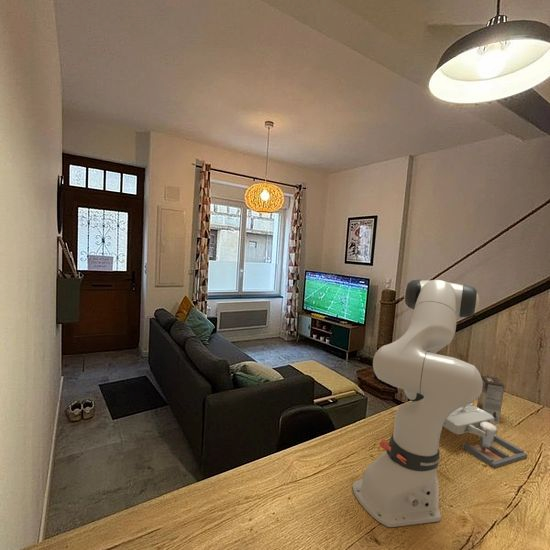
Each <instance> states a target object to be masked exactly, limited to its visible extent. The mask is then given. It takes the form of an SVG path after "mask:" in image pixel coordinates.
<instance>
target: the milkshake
mask: <svg viewBox="0 0 550 550" xmlns="http://www.w3.org/2000/svg"><path fill="white" fill-rule="evenodd" d="M496 424H497V425H496V426H495V424H494V425H493V424H491V423H488V422H481V423H480V430H481V429H482V430H484V431H486V432H487V436H486V437H481V436H479V440H480V441H479V440H478V444H479V448H480V449H481V450H482V451H484V452H491V448H492V445H493V444H494V441H493V440H494V436H495V435H496V434H495V433H496V430H498V429H497V428H498V427H499V425H500V422H499V423H496Z"/></svg>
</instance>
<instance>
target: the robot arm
mask: <svg viewBox="0 0 550 550" xmlns="http://www.w3.org/2000/svg"><path fill="white" fill-rule="evenodd" d="M403 300H404V304H405V305H406V307H408V308H409V309H412V310H413V312H412V315H411V316H412V317H411V320H410V323H409V326H408V328H407V330H406V332H404V334H403V335H401V337H399V338H398V339H397V340H395V341H393V342H391V343H388V344H385V345H383V346H381V347H379V348H378V350H377V351H376V352H375V354H374V356H373V359H372V368H373V372H374V374H375V377H377V379H378V380H379V381H381V382H384V383H385V384H388V385H390V386H392V387H394V388H398V389H402V391H403V394H404V396H405V397H406V398H407V400H409V401H410V402H409V401H408V402H406V403H403V404H401V405H400V406H399V407H398V408H397V410H396V412H395V418H394V424H393V425H394V426H393V433H392V434H391V435H390V436H391V437H390V439H389V440H388V441H386V440H385V439H382V440H380V442H379V447H381V448H382V449H384V451H383V452H382V453H381V454H380V455H379V456H378V457H377V458H375V460H374V461H372V462H371V463H370V464H369V465H368V466H367V467H366V468H365V471H364V473H363V477H361V478H359V479H358V480H356V481H354V482H353V483H352V491H353V494H354V496H355V498H356V499H357V501H358V502H359V503H360V505H361V507H363V508H364V510H365V511H366V512H367V513H368V514H369V515H370V516H371V517H372V518H373V519H375V521H377V522H378V523H380V524H382V525H384V526H385V527H387V528H395V527H403V526H404V527H405V526H413V525H418V524H419V525H420V524H428V523H435V522H437V523H438V522H440V521H442V515H441V511H440V509H439V503H440V502H439V493H440V490H439V485H440V484H439V478H438V472H437V468H438V467H439V461H440V457H441V456H440V454H441V453H440V448H439V446H440V440H441V435H442V431H443V427H444V428H446V430H448V431H449V432H451V433H452V434H455V435H462V434H466V433H469V434H470V433H471V434H472V435H473V434H474V435H477V436H479V437H480V436H481V437H486V436H487V432H486V431H484V430H482V429H481V430H480V423H481V422H488V423H491V424H493V425H494V426H495V423H494V417H493V416H492V415H491V414H489V413H487V412H486V411H484V410H482V409H480V408H478V407H477V406H474V405H473V403H474V402H475V401H478V397H479V396H480V394H481V392H482V387H483V383H482V378H481V373H480V371H479V370H478V368H477V367H476V366H475V365H474V364H471V363H469V362H466V361H464V360H461V359H459V358H456V357H453V356H448V355H443V354H438V352H440V351H441V350H443V349H444V348H445V347H446V346H448V345H449V344H450V343H451V342H452V341H453V339H454V337H455V335H456V329H457V320H458V319H457V318H458V317H459V318H470V317H472V316H474V315H475V313H476V311H478V308H479V305H480V296H479V294H478V290H477V289H476V288H475V287H474V286H471V285H467V284H459V283H454V282H450V281H449V282H448V281H445V280H442V279H431V280H428V279H427V280H422V279H413V280H410V281H409V282H408V283H407V285H406V287H405V288H404V292H403ZM497 434H498V429H497V430H496V433H495V435H497Z"/></svg>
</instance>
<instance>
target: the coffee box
mask: <svg viewBox="0 0 550 550" xmlns="http://www.w3.org/2000/svg"><path fill="white" fill-rule="evenodd" d="M480 375H481V374H480ZM481 378H482V383H483V387H482V392H481V394H480V396H479V397H478V399H477V403H476V407H478V408H480V409H482V410H484V411H486V412H487V413H489V414H491V415H492V416H493V417H494V424H498V423H499V424H500V418H501V412H502V405H503V399H504V394H505V393H504V392H505V387H506V386H505V385H504V383H503V382H502V381H501V380H500V379H499V378H498V377H494V376H486V375H481Z"/></svg>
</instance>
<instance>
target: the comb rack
mask: <svg viewBox="0 0 550 550" xmlns="http://www.w3.org/2000/svg"><path fill="white" fill-rule="evenodd" d="M479 441H480V439H478V442H479ZM493 443H496V444H498V445H499V446H501V447H503V448H504V449H507V450H509V451H510V452H512V453H514V454H513V455H509V454H508V453H506V452H505V451H503V450H502V449H500V448H498V447H496V446H494V445H493V444H492V448H491V452H484V451H482V450H481V449H480V448H479V443H478V444H474V445H471V444H469V443H467V442H465V443H463V446H462V449H463V450H465V451H466V452H468V453H469V454H470V455H472V456H474V457H475V458H477V459H478V460H480V461H481V462H483V463H484V464H487V466H490V467H491V468H492V469H496V468H499V467H503V466H505V465H509V464H511V463H515V462H518V461H521V460H524V459H527V458H528V454H527V453H525V452H524V451H525V450H523V449H522V448H520V447H518V446H516V445H515V444H513V443H511V442H509V441H507V440H505V439H504V438H502V437H500V436H498V435H497V434H495V436H494V440H493Z"/></svg>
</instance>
